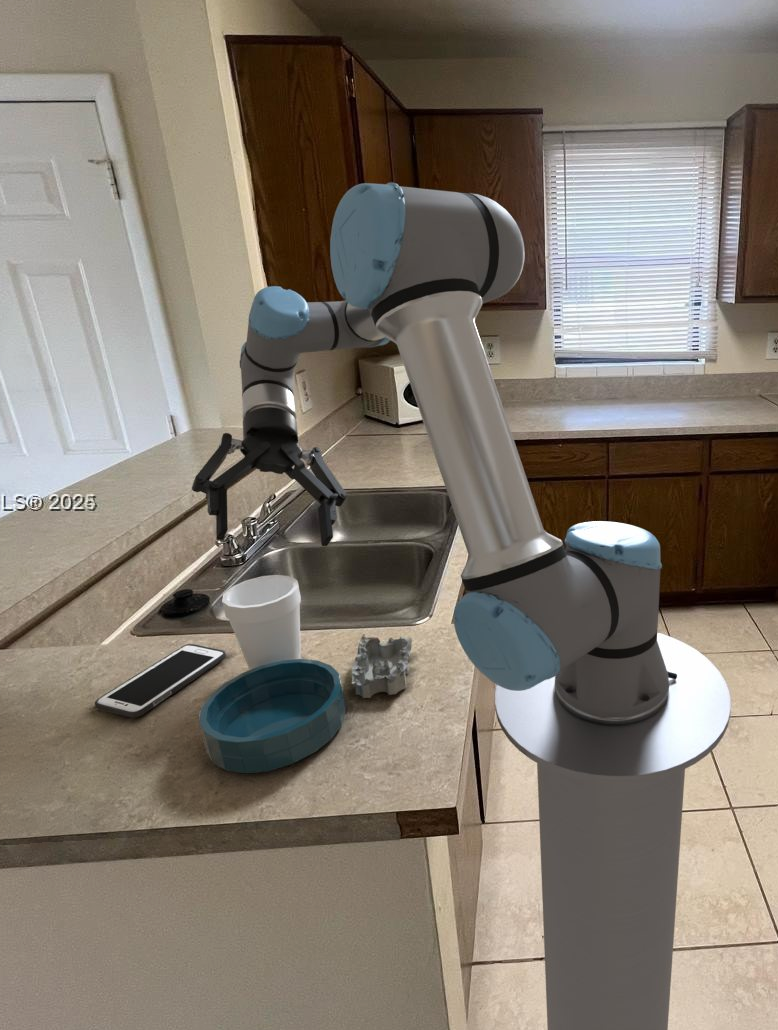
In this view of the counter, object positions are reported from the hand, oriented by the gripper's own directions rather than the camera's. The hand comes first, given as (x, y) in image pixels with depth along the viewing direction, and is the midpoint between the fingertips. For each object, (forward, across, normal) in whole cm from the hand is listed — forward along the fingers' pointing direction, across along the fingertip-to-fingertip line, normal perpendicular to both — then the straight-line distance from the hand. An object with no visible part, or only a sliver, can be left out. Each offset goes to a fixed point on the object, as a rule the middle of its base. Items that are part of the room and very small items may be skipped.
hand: (277, 538), depth 85 cm
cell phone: (+12, +10, -21) cm, 26 cm away
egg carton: (+20, -14, -4) cm, 25 cm away
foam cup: (+14, -3, -13) cm, 20 cm away
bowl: (+25, 0, -5) cm, 25 cm away
